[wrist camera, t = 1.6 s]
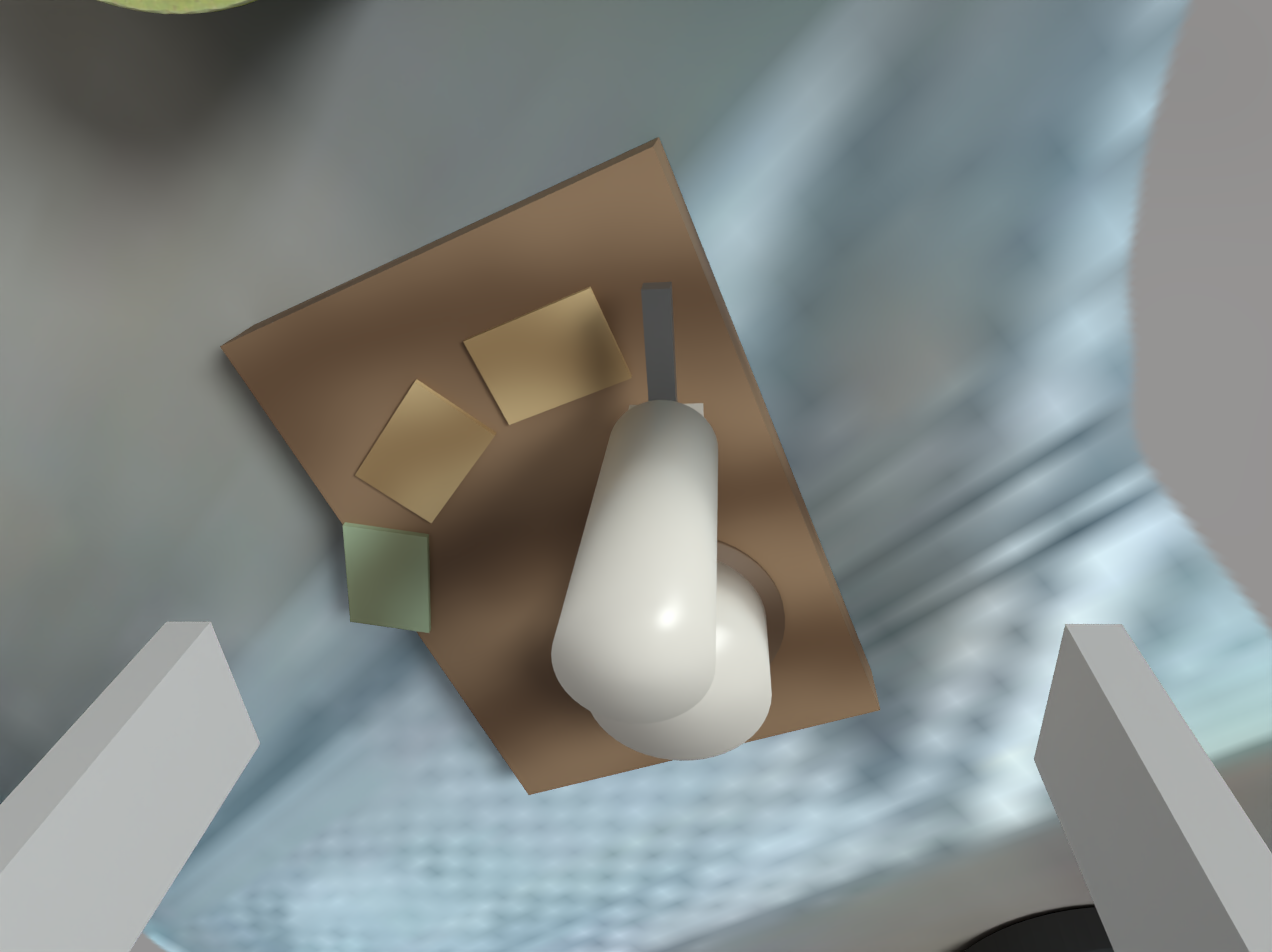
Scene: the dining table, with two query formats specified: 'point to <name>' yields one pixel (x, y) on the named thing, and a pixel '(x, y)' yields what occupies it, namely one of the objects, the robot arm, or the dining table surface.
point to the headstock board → (538, 451)
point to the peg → (662, 583)
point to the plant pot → (177, 5)
